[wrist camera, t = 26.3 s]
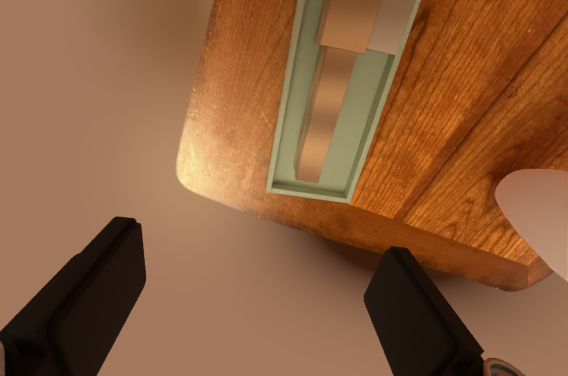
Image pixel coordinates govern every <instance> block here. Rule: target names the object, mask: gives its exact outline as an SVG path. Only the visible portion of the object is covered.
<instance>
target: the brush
mask: <svg viewBox="0 0 568 376" xmlns="http://www.w3.org/2000/svg"><path fill="white" fill-rule="evenodd" d="M415 3H416V0H323V1H322V6H321V11H320V15H319V20H318V25H317V29H316V34H315V39H314V44H318V45H320V47H319V51H318V56H317V60H316V64H315V69H314V73H313V78H312V82H311V87H310V91H309V95H308V100H307V104H306V109H305V113H304V117H303V122H302V126H301V131H300V135H299V139H298V144H297V148H296V153H295V157H294V161H293V165H294V172H295V179H296V180H298V181H305V182H311V183H318V182H319V179H320V176H321V172H322V169H323V166H324V162H325V159H326V155H327V152H328V149H329V145H330V142H331V139H332V135H333V132H334V129H335V125H336V122H337V119H338V115H339V112H340V109H341V105H342V102H343V99H344V95H345V92H346V89H347V85H348V82H349V79H350V75H351V72H352V69H353V65H354V62H355V59H356V55H357V53H360V54H365V51H366V50H370V51H375V52H379V53H385V54H391V55H396V54H397V51H398V48H399V46H400V43H401V40H402V38H403V35H404V32H405V30H406V27H407V24H408V22H409V19H410V16H411V13H412V11H413V8H414V5H415Z"/></svg>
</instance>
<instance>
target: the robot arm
mask: <svg viewBox="0 0 568 376" xmlns="http://www.w3.org/2000/svg"><path fill="white" fill-rule="evenodd" d="M145 282H146V270H145V260H144V249H143V239H142V228H141V224H140V223H137V222H136V220H135V219H134V218H126V217H114V218H113V219H112V220H111V221H110V222H109V223H108V225H106V227H105V228H104V229H103V230H102V231H101V232H100V233H99V234H98V235H97V236H96V237H95V238H94V239H93V240H92V241H91V242H90V243H89V244H88V245H87V246H86V247H85V249H84V250H83V251H82V252H81V253H79V254H76V255H75V256H74V257H73V258H71V259H70V261H68V262H67V264H66V265H65V266H64V267H63V268H62V269H61V270H60V271H59V272H58V273H57V274H56V275H55V276H54V277H53V278H52V279H51V280H50V281H49V282H48V283H47V284H46V285H45V286H44V287H43V288H42V289H41V290H40V291H39V292H38V293H37V294H36V296H34V297H33V298H32V299H31V300H30V302H29V303H28V304H27V305H26V306H25V307H24V308H23V309H22V310H21V311H20V312H19V313H18V314H17V315H16V316H15V317H14V318H13V319H12V320H11V321H10V322H9V323H8V324H7V325H6V326H5V327H4V328H3V329H2V330H1V331H0V376H97V374H98V372H99V370H100V368H101V367H102V365H103V363H104V361H105V359H106V357H107V355H108V353H109V352H110V350H111V348H112V346H113V344H114V342H115V340H116V338H117V336H118V335H119V333H120V331H121V329H122V327H123V325H124V323H125V322H126V320H127V318H128V316H129V314H130V312H131V310H132V308H133V307H134V305H135V303H136V301H137V299H138V297H139V295H140V294H141V292H142V290H143V288H144V286H145ZM364 303H365V306H366V308H367V311H368V313H369V316H370V318H371V321H372V323H373V325H374V328H375V331H376V333H377V335H378V338H379V341H380V343H381V346H382V348H383V350H384V353H385V355H386V358H387V360H388V363H389V365H390V368H391V370H392V373H393V375H394V376H525V375H524V374H523V373H522V372H521V371H520V370H518V369H517V368H515V367H514V366H512V365H511V364H509V363H507V362H505V361H503V360H500V359H497V358H488V359H486V360H485V361H484V360H483V358H482V357H481V356H480V355H481V354H482V353H483V352H484V350H483V349H482V347H481V346H480V345H479V343H478V342H477V341H476V339H475V338H474V337H473V335H472V334H471V333H470V331H469V330H468V329H467V327H466V326H465V325H464V323H463V322H462V321H461V319H460V318H459V317H458V315H457V314H456V313H455V311H454V310H453V309H452V307H451V306H450V304H449V303H448V302H447V301H446V299H445V298H444V296H443V295H442V294H441V293H440V291H439V290H438V288H437V287H436V286H435V284H434V283H433V282H432V281H431V279H430V278H429V276H428V275H427V274H426V273H425V271H424V270H423V268H422V267H421V266H420V264H419V263H418V262H417V260H416V259H415V257H414V256H413V255H412V253H411V252H410V251H409V250H408V249H407V248H404V247H395V246H392V247H390V248H389V249H388V250H386V251H385V252H384V254H383V257H382V259H381V261H380V263H379V265H378V267H377V269H376V271H375V273H374V275H373V278H372V279H371V282H370V284H369V286H368V288H367V290H366V292H365V294H364Z"/></svg>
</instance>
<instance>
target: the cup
mask: <svg viewBox="0 0 568 376" xmlns="http://www.w3.org/2000/svg"><path fill="white" fill-rule="evenodd" d="M495 198H496V201H497V203H498V205H499V207H500V209H501V210H502V212H503V214H504V215H505V217H506V218H507V219H508V221H509V222H510V224H511V225H512V226H513V228H514V229H515V230H516V232H517V233H518V234H519V235H520V236H521V237H522V239H523V240H524V241H525V242H526V243H527V244H528V245H529V246H530V247H531V248H532V249H533V250H534V251H535V252H536V253H537V254H538V255H539V256H540V257H541V258H542V259H543V260H544V262H545V263H546V264H547V265H548V266H549V267H550V268H551V269H552V270H553V271H555V272H556V273H557V274H558V275H560V276H561V277H562V278H564V279H565V280H566V281H567V282H568V171H564V170H551V169H522V170H517V171H514V172H512V173H510V174H508V175H507V176H506V177H505V178H503V179H502V180H501V181H500V183H499V184H498V186H497V187H496V190H495Z"/></svg>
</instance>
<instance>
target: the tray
mask: <svg viewBox="0 0 568 376" xmlns="http://www.w3.org/2000/svg"><path fill="white" fill-rule="evenodd" d="M322 1H323V0H297V2H296V8H295V14H294V20H293V26H292V32H291V38H290V43H289V49H288V55H287V61H286V67H285V73H284V79H283V85H282V91H281V97H280V103H279V109H278V115H277V121H276V127H275V133H274V139H273V144H272V150H271V156H270V162H269V168H268V174H267V180H266V192H272V193H279V194H286V195H293V196H300V197H307V198H314V199H321V200H328V201H335V202H343V203H349V204H350V202H351V199H352V196H353V193H354V190H355V187H356V184H357V182H358V179H359V176H360V173H361V170H362V167H363V164H364V162H365V159H366V156H367V153H368V150H369V147H370V144H371V142H372V139H373V136H374V133H375V130H376V127H377V124H378V121H379V119H380V116H381V113H382V110H383V107H384V104H385V101H386V99H387V96H388V93H389V90H390V87H391V84H392V81H393V79H394V76H395V73H396V70H397V67H398V64H399V61H400V58H401V56H402V53H403V50H404V47H405V44H406V41H407V38H408V36H409V33H410V30H411V27H412V24H413V21H414V18H415V16H416V13H417V10H418V7H419V4H420V1H421V0H416V3H415V5H414V8H413V11H412V13H411V16H410V19H409V22H408V24H407V27H406V30H405V32H404V35H403V38H402V40H401V43H400V46H399V48H398V51H397V54H396V55H391V54H385V53H379V52H375V51H370V50H366V51H365V54H360V53H357V55H356V59H355V62H354V65H353V69H352V72H351V75H350V79H349V82H348V85H347V89H346V92H345V95H344V99H343V102H342V105H341V109H340V112H339V115H338V119H337V122H336V125H335V129H334V132H333V135H332V139H331V142H330V145H329V149H328V152H327V155H326V159H325V162H324V166H323V169H322V172H321V176H320V179H319V182H318V183H311V182H305V181H298V180H296V179H295V172H294V165H293V161H294V157H295V153H296V148H297V144H298V139H299V135H300V131H301V126H302V122H303V117H304V113H305V109H306V104H307V100H308V95H309V91H310V87H311V82H312V78H313V73H314V69H315V64H316V60H317V56H318V51H319V47H320V45H318V44H314V39H315V34H316V29H317V25H318V20H319V15H320V11H321V6H322Z"/></svg>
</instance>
